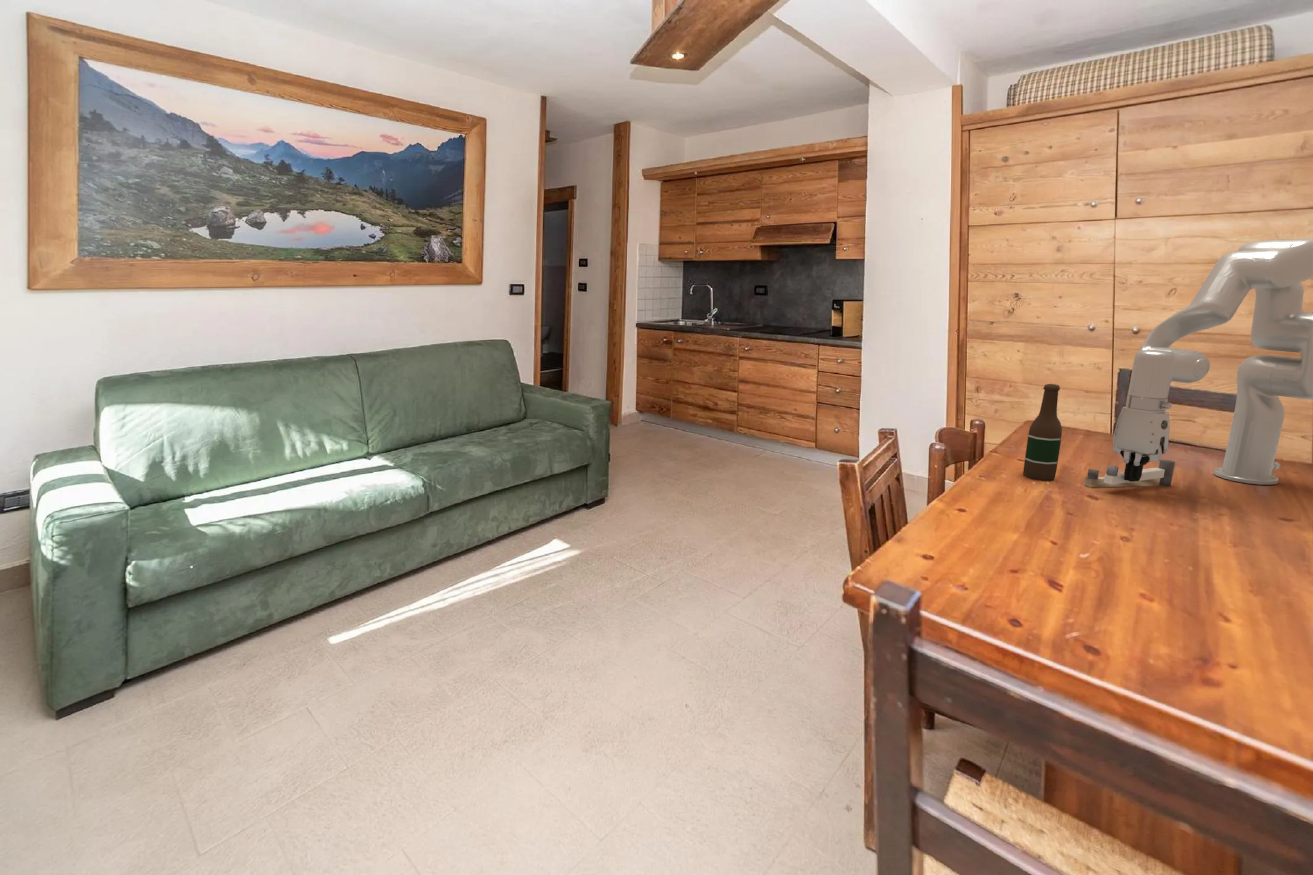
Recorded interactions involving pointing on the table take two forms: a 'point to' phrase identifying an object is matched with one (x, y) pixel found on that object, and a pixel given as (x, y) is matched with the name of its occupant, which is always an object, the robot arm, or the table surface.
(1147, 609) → the table surface
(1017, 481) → the table surface
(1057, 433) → the beer bottle
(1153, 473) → the tongs moving jaw
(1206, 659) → the table surface
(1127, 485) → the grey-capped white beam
